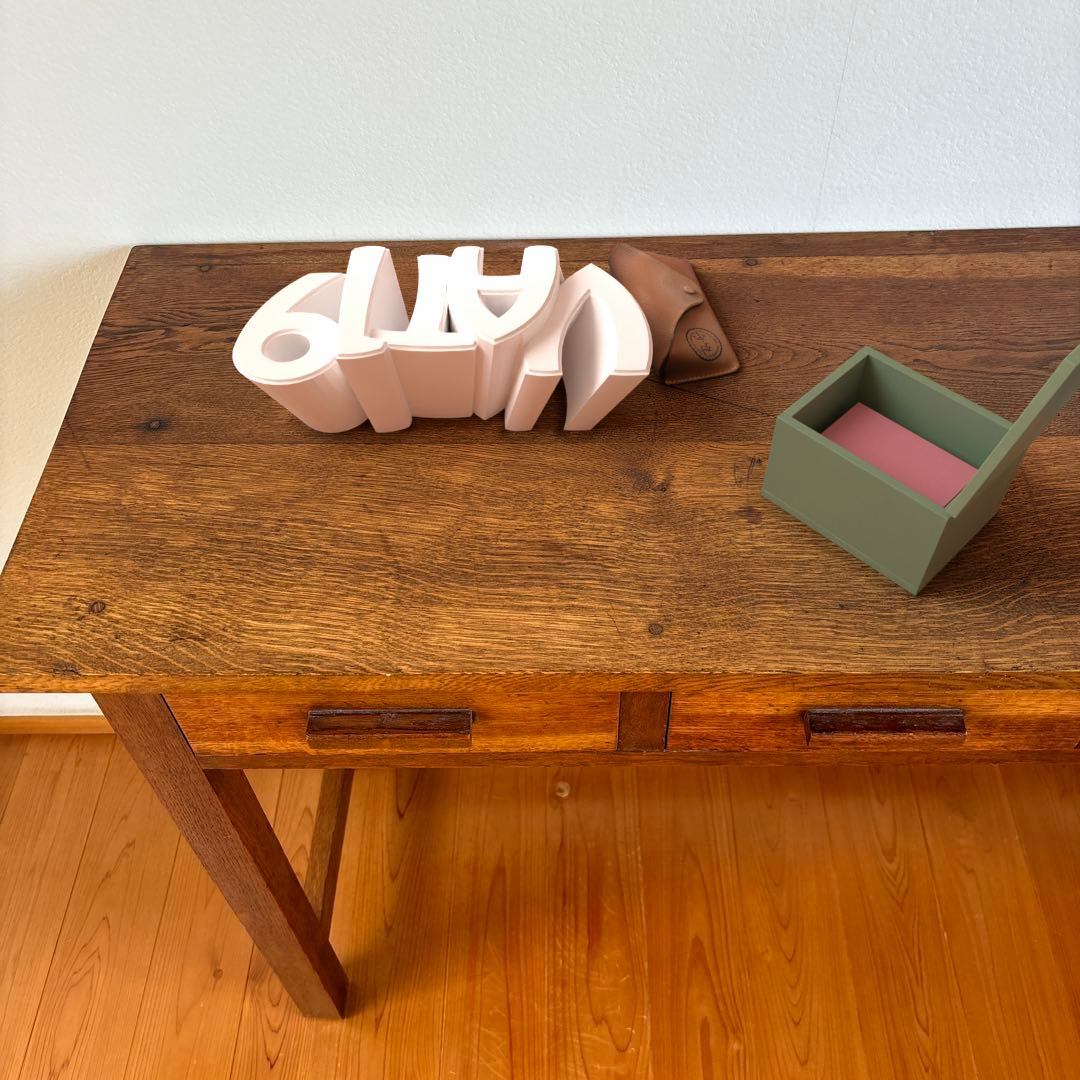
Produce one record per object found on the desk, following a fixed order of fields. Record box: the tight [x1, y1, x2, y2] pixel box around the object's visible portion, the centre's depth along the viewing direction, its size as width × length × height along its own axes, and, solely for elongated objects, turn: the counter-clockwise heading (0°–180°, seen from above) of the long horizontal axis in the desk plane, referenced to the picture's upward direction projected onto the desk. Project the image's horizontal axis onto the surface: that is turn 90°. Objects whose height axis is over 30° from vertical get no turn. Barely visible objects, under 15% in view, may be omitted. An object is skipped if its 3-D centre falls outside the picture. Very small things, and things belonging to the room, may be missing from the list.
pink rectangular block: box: [821, 402, 978, 508], centre depth 80 cm, size 11×7×4 cm, turn 44°
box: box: [760, 344, 1030, 596], centre depth 79 cm, size 15×12×9 cm
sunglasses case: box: [607, 242, 741, 386], centre depth 96 cm, size 18×7×7 cm
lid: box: [946, 343, 1080, 518], centre depth 65 cm, size 15×12×1 cm
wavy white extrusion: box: [232, 245, 653, 434], centre depth 88 cm, size 35×16×11 cm, turn 86°
